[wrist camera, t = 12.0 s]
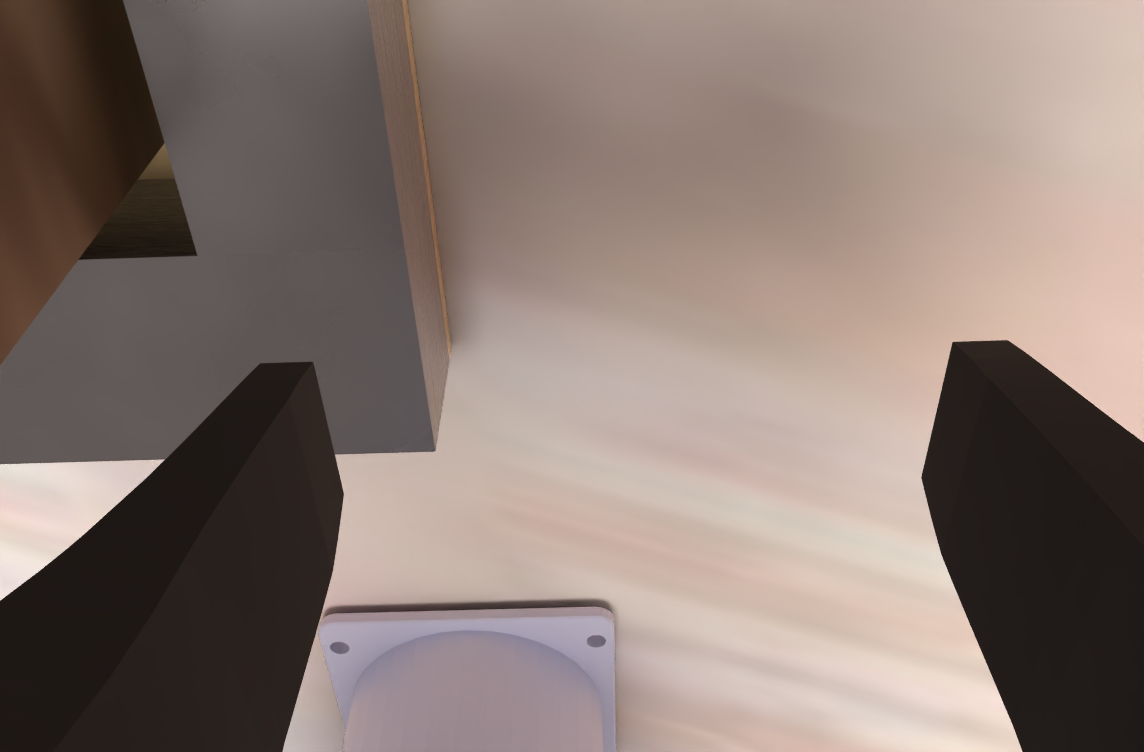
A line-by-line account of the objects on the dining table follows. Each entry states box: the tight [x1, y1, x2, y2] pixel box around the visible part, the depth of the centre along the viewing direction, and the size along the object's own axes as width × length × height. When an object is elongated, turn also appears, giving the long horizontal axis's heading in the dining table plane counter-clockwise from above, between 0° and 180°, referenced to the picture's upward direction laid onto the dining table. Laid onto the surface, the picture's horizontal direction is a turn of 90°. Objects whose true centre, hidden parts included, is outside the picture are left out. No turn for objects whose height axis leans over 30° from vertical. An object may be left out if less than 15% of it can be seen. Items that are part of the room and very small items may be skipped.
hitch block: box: [0, 0, 451, 464], centre depth 17 cm, size 15×13×4 cm
